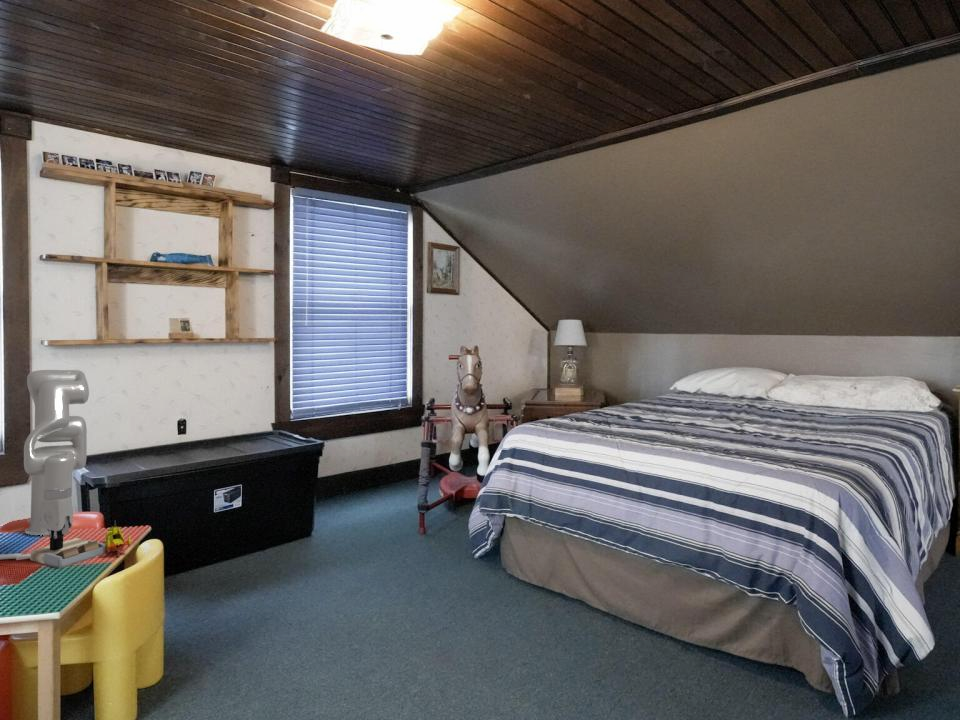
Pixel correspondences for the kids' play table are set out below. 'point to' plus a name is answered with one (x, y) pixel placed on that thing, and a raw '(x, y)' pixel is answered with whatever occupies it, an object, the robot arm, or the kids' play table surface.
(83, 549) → the tile
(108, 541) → the toy car
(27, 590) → the kids' play table surface
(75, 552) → the tile
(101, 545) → the box
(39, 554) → the plate
